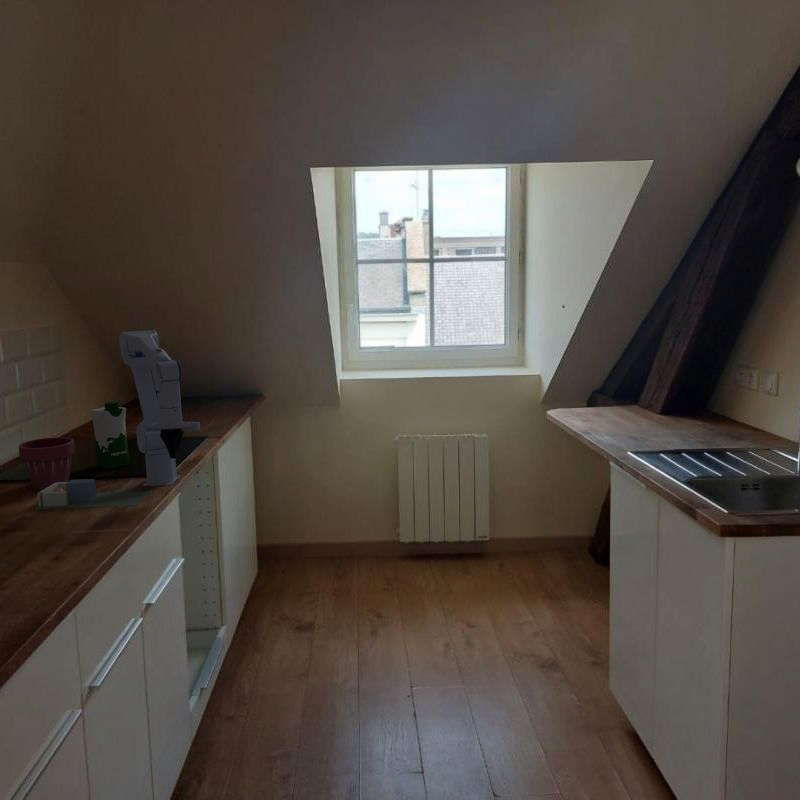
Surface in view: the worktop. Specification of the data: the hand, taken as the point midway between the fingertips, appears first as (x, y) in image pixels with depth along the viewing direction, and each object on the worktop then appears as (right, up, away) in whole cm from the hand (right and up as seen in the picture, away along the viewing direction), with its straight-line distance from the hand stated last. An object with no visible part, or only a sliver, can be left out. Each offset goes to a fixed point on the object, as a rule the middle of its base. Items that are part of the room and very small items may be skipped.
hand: (174, 457), depth 201 cm
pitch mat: (-20, -11, -3) cm, 23 cm away
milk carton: (-30, -5, +36) cm, 47 cm away
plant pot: (-39, -9, +14) cm, 42 cm away
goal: (-29, -11, -2) cm, 31 cm away
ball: (-29, -9, -3) cm, 31 cm away
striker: (-23, -11, -3) cm, 26 cm away
